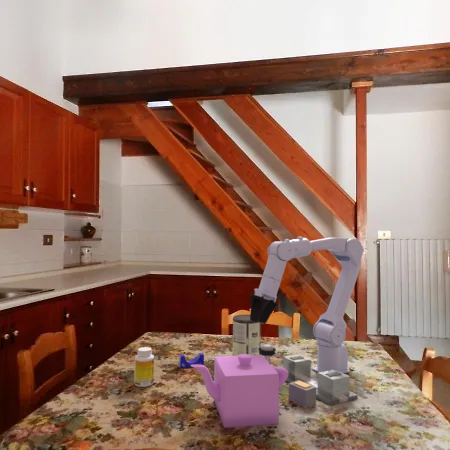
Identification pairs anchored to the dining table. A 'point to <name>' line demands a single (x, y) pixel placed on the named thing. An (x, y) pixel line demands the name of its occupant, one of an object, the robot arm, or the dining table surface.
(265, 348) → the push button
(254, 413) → the teapot
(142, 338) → the dining table surface
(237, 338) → the coffee can
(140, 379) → the supplement bottle
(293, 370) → the rail plate
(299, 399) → the block
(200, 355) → the cable holder
